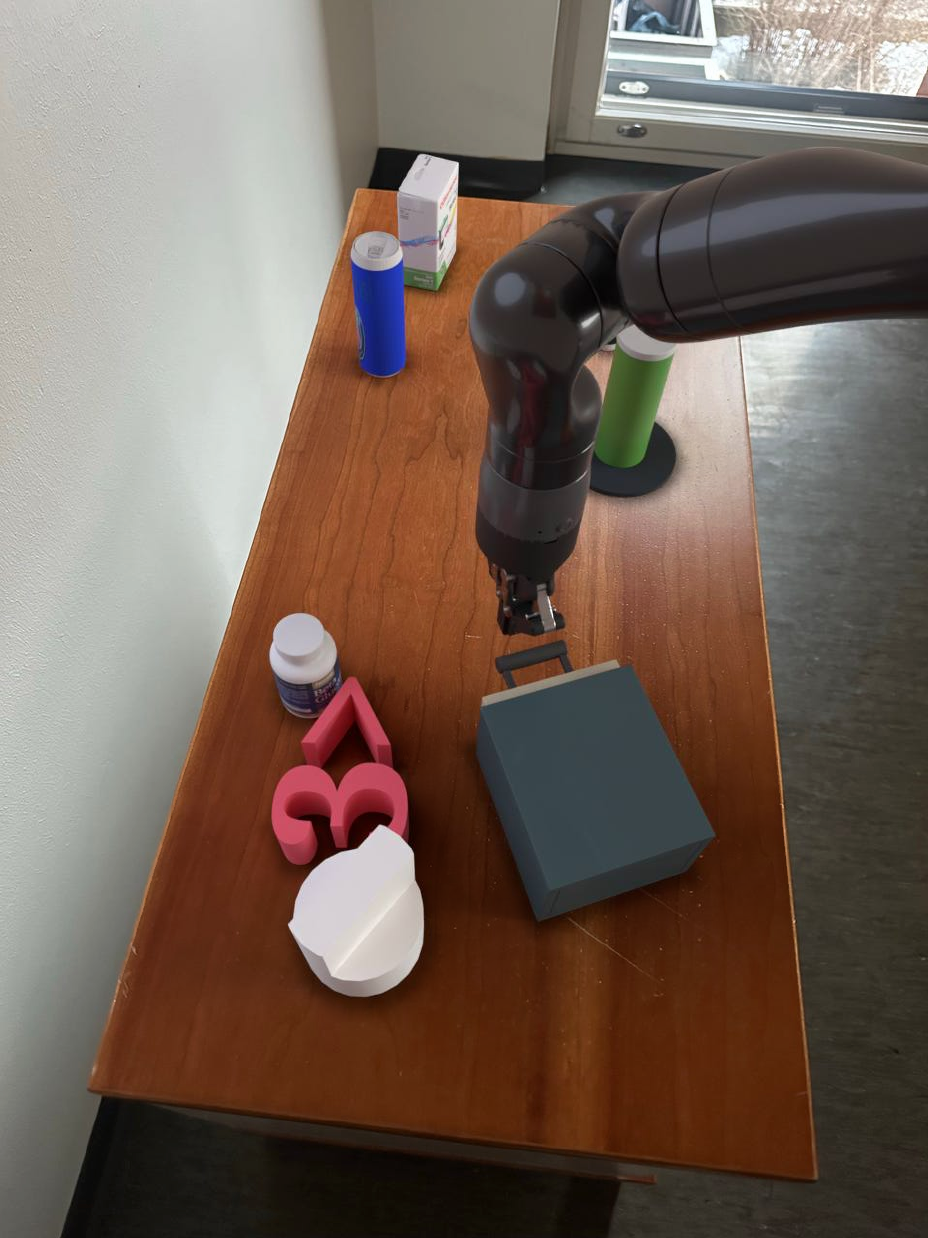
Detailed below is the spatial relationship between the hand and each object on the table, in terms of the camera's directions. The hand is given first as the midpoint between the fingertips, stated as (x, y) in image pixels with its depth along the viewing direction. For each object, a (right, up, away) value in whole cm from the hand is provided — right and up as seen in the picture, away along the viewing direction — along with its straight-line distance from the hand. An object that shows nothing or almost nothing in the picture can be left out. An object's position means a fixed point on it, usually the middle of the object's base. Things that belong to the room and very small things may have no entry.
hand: (511, 626), depth 77 cm
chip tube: (+12, +18, +17) cm, 28 cm away
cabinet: (+5, -15, -4) cm, 16 cm away
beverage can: (-13, +29, +24) cm, 40 cm away
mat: (+12, +18, +17) cm, 28 cm away
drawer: (+4, -11, -3) cm, 12 cm away
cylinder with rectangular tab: (-12, -23, -9) cm, 27 cm away
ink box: (-8, +44, +33) cm, 55 cm away
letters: (-13, -13, -3) cm, 19 cm away
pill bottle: (-17, -6, +1) cm, 18 cm away
